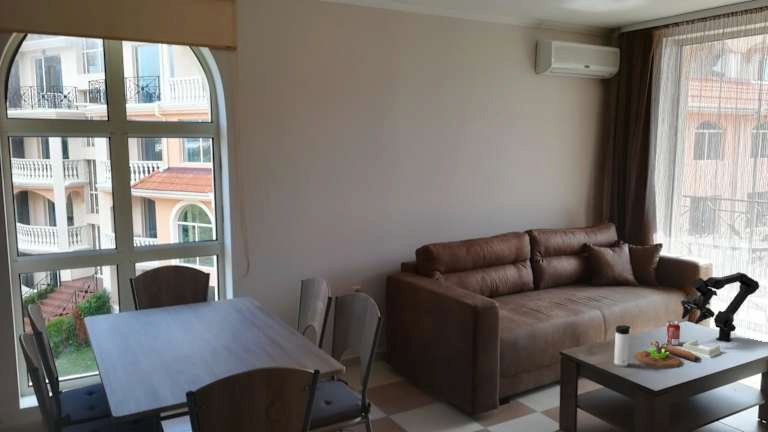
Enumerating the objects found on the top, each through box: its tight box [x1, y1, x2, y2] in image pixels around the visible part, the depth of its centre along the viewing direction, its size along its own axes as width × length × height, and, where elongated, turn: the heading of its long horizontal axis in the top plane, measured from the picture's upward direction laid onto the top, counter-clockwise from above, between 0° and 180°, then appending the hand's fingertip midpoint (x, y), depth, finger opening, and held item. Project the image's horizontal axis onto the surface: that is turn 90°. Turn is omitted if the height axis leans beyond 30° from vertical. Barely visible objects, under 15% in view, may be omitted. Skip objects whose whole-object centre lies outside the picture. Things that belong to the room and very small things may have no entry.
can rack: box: [681, 338, 722, 359], centre depth 308 cm, size 13×14×4 cm
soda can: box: [665, 320, 681, 347], centre depth 319 cm, size 7×7×12 cm
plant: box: [633, 340, 683, 370], centre depth 294 cm, size 20×20×11 cm
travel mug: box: [613, 324, 631, 368], centre depth 288 cm, size 6×7×20 cm
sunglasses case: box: [662, 345, 702, 363], centre depth 301 cm, size 18×7×7 cm
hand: (688, 321), depth 318 cm, fingers open, 9 cm apart
